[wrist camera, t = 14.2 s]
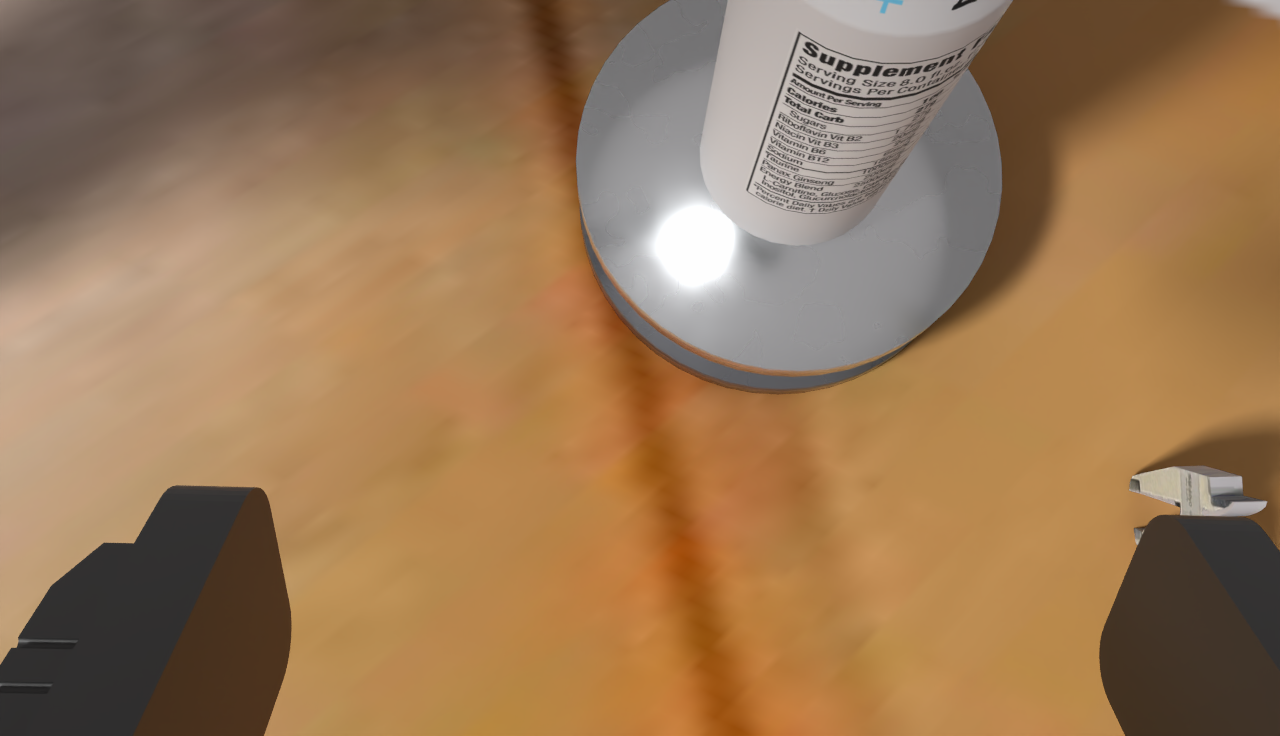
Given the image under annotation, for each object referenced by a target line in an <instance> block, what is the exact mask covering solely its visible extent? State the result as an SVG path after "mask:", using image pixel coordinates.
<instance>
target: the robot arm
mask: <svg viewBox="0 0 1280 736" xmlns="http://www.w3.org/2000/svg"><path fill="white" fill-rule="evenodd" d="M18 639H19V642H18V646H17V648H11V649H10V651H9V652H8V654H7V655H6V657H5V659H4V660H3V662H2V663H1V665H0V736H264V734H265V731H266V728H267V725H268V722H269V719H270V716H271V713H272V711H273V708H274V705H275V702H276V699H277V696H278V693H279V690H280V688H281V685H282V682H283V679H284V675H285V672H286V668H287V663H288V658H289V651H290V643H291V610H290V604H289V599H288V594H287V589H286V584H285V579H284V574H283V569H282V564H281V559H280V554H279V549H278V543H277V538H276V533H275V528H274V523H273V518H272V513H271V508H270V504H269V501H268V498H267V495H266V494H265V492H264V491H263V490H262V489H261V488H255V487H218V486H181V485H176V486H172V487H170V488H169V489H167V491H166V492H165V493H164V494H163V495H162V497H161V498H160V500H159V501H158V503H157V505H156V507H155V508H154V510H153V512H152V513H151V515H150V517H149V519H148V520H147V522H146V524H145V526H144V527H143V529H142V531H141V532H140V534H139V536H138V538H137V539H136V541H135V543H134V544H132V543H103V544H102V545H101V546H99V547H98V548H97V549H96V550H95V551H93V552H92V553H91V554H90V555H88V556H87V557H86V558H85V559H84V560H82V561H81V562H80V563H79V564H77V565H76V566H75V567H74V568H73V569H71V570H70V571H69V572H68V573H66V574H65V575H64V576H63V577H62V578H60V579H59V580H58V581H57V582H55V583H54V584H53V585H52V586H51V587H50V589H49V590H48V592H47V593H46V595H45V596H44V598H43V600H42V601H41V603H40V604H39V606H38V607H37V609H36V610H35V612H34V614H33V615H32V617H31V618H30V620H29V621H28V623H27V624H26V626H25V628H24V629H23V631H22V632H21V634H20V635H19V637H18ZM1099 659H1100V670H1101V677H1102V682H1103V686H1104V689H1105V692H1106V695H1107V698H1108V700H1109V702H1110V705H1111V707H1112V709H1113V711H1114V713H1115V715H1116V717H1117V719H1118V721H1119V723H1120V726H1121V728H1122V730H1123V732H1124V734H1125V736H1280V551H1279V550H1278V549H1277V547H1276V546H1275V545H1274V543H1273V542H1272V541H1271V539H1270V538H1269V537H1268V535H1267V534H1266V533H1265V532H1264V530H1263V529H1262V528H1261V527H1260V526H1259V525H1258V524H1257V523H1255V522H1254V521H1252V520H1250V519H1248V518H1245V517H1230V516H1193V515H1159V516H1157V517H1155V518H1153V519H1152V520H1151V521H1150V522H1149V523H1148V525H1147V526H1146V528H1145V530H1144V532H1143V534H1142V536H1141V538H1140V541H1139V543H1138V546H1137V548H1136V551H1135V553H1134V555H1133V558H1132V560H1131V563H1130V565H1129V568H1128V570H1127V572H1126V575H1125V577H1124V580H1123V582H1122V584H1121V587H1120V589H1119V592H1118V594H1117V597H1116V599H1115V601H1114V604H1113V606H1112V609H1111V611H1110V614H1109V616H1108V618H1107V621H1106V623H1105V626H1104V629H1103V632H1102V636H1101V641H1100V655H1099Z"/></svg>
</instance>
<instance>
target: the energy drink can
mask: <svg viewBox="0 0 1280 736" xmlns="http://www.w3.org/2000/svg"><path fill="white" fill-rule="evenodd" d="M1012 1H1013V0H728V2H727V7H726V12H725V18H724V23H723V28H722V33H721V38H720V44H719V49H718V54H717V59H716V64H715V70H714V75H713V80H712V85H711V91H710V96H709V101H708V106H707V111H706V117H705V122H704V127H703V132H702V138H701V144H700V166H701V170H702V174H703V178H704V182H705V184H706V186H707V188H708V190H709V192H710V194H711V197H712V199H713V200H714V201H715V203H716V204H717V205H718V207H719V208H720V209H721V211H722V212H723V213H724V214H725V215H726V216H727V217H728V218H729V219H730V220H732V221H733V222H734V223H735V224H736V225H737V226H739V227H740V228H742V229H744V230H745V231H747V232H749V233H750V234H752V235H754V236H756V237H759V238H762V239H764V240H767V241H769V242H773V243H779V244H785V245H812V244H817V243H822V242H827V241H829V240H832V239H834V238H836V237H839V236H841V235H843V234H845V233H847V232H848V231H850V230H851V229H852V228H854V227H855V226H857V225H858V224H859V223H860V222H861V221H862V220H863V219H864V218H865V217H866V216H867V215H868V214H869V213H870V212H871V211H872V209H873V208H874V206H875V205H876V203H877V202H878V200H879V199H880V197H881V196H882V194H883V193H884V191H885V190H886V189H887V187H888V186H889V184H890V183H891V181H892V180H893V178H894V177H895V175H896V174H897V172H898V171H899V169H900V168H901V166H902V165H903V163H904V162H905V160H906V159H907V157H908V156H909V154H910V153H911V151H912V150H913V148H914V147H915V145H916V144H917V142H918V141H919V139H920V138H921V136H922V135H923V133H924V132H925V130H926V129H927V128H928V126H929V125H930V123H931V122H932V120H933V119H934V117H935V116H936V114H937V113H938V111H939V110H940V108H941V107H942V105H943V104H944V102H945V101H946V99H947V98H948V96H949V95H950V93H951V92H952V90H953V89H954V87H955V86H956V84H957V83H958V81H959V80H960V78H961V77H962V75H963V74H964V72H965V71H966V70H967V68H968V67H969V65H970V64H971V62H972V61H973V59H974V58H975V56H976V55H977V53H978V52H979V50H980V49H981V47H982V46H983V44H984V43H985V41H986V40H987V38H988V37H989V35H990V34H991V32H992V31H993V29H994V28H995V26H996V25H997V23H998V22H999V20H1000V19H1001V17H1002V16H1003V14H1004V13H1005V12H1006V10H1007V9H1008V7H1009V6H1010V4H1011V3H1012Z"/></svg>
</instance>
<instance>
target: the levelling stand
mask: <svg viewBox="0 0 1280 736" xmlns="http://www.w3.org/2000/svg"><path fill="white" fill-rule="evenodd" d="M727 2H728V0H670V1H668V2H666V3H665V4H663V5H661V6H660V7H658V8H657V9H656V10H654V11H653V12H652V13H651V14H649V15H648V16H647V17H646V18H644V19H643V20H642V21H640V22H639V23H638V24H637V25H636V26H635V27H634V28H633V29H632V30H631V31H630V32H629V33H628V34H627V35H626V36H625V37H624V38H623V39H622V41H621V42H620V43H619V44H618V46H617V47H616V48H615V50H614V51H613V52H612V54H611V55H610V56H609V58H608V59H607V60H606V62H605V63H604V65H603V67H602V69H601V71H600V73H599V74H598V76H597V78H596V80H595V82H594V84H593V86H592V88H591V91H590V94H589V96H588V99H587V102H586V104H585V107H584V110H583V115H582V119H581V124H580V128H579V133H578V142H577V155H576V167H577V183H578V196H579V202H580V217H581V229H582V234H583V239H584V244H585V249H586V253H587V256H588V259H589V262H590V265H591V268H592V271H593V273H594V276H595V278H596V280H597V282H598V284H599V286H600V288H601V290H602V292H603V294H604V296H605V298H606V299H607V301H608V302H609V304H610V305H611V306H612V308H613V309H614V311H615V312H616V314H617V315H618V317H619V318H620V319H621V320H622V321H623V323H624V324H625V325H626V326H627V327H628V328H629V329H630V330H631V331H632V333H633V334H634V335H635V336H636V337H637V338H638V339H639V340H641V341H642V342H643V343H644V344H645V345H646V346H648V347H649V348H650V349H651V350H652V351H654V352H655V353H656V354H657V355H659V356H660V357H662V358H663V359H665V360H666V361H668V362H670V363H671V364H673V365H674V366H676V367H677V368H679V369H681V370H683V371H685V372H687V373H689V374H691V375H694V376H696V377H698V378H700V379H702V380H705V381H708V382H711V383H714V384H717V385H720V386H723V387H726V388H731V389H736V390H741V391H746V392H752V393H766V394H791V393H805V392H810V391H815V390H820V389H825V388H830V387H833V386H836V385H838V384H841V383H844V382H847V381H850V380H853V379H855V378H857V377H859V376H861V375H863V374H865V373H867V372H869V371H871V370H873V369H875V368H877V367H878V366H880V365H881V364H883V363H884V362H886V361H887V360H889V359H890V358H892V357H893V356H895V355H896V354H897V353H899V352H900V351H901V350H902V349H903V348H904V347H906V346H907V345H908V344H909V343H910V342H911V341H912V340H913V339H914V338H915V337H917V336H918V335H919V334H921V333H922V332H923V331H924V330H926V329H927V328H928V327H929V326H930V325H931V324H933V323H934V322H935V321H936V320H937V319H938V318H939V317H940V316H941V315H942V314H944V313H945V312H946V311H947V310H948V309H949V308H950V307H951V306H952V305H953V304H954V302H955V301H956V300H957V299H958V298H959V296H960V295H961V294H962V293H963V292H964V290H965V289H966V288H967V287H968V285H969V284H970V282H971V280H972V279H973V277H974V275H975V274H976V272H977V270H978V269H979V267H980V266H981V264H982V262H983V259H984V257H985V255H986V252H987V250H988V248H989V246H990V243H991V241H992V238H993V234H994V231H995V227H996V223H997V220H998V216H999V209H1000V201H1001V193H1002V161H1001V155H1000V148H999V142H998V136H997V133H996V129H995V126H994V123H993V119H992V116H991V112H990V110H989V108H988V105H987V103H986V101H985V99H984V96H983V94H982V92H981V90H980V88H979V86H978V84H977V83H976V81H975V79H974V78H973V76H972V74H971V73H970V71H969V70H968V68H967V70H966V71H965V72H964V74H963V75H962V77H961V78H960V80H959V81H958V83H957V84H956V86H955V87H954V89H953V90H952V92H951V93H950V95H949V96H948V98H947V99H946V101H945V102H944V104H943V105H942V107H941V108H940V110H939V111H938V113H937V114H936V116H935V117H934V119H933V120H932V122H931V123H930V125H929V126H928V128H927V129H926V130H925V132H924V133H923V135H922V136H921V138H920V139H919V141H918V142H917V144H916V145H915V147H914V148H913V150H912V151H911V153H910V154H909V156H908V157H907V159H906V160H905V162H904V163H903V165H902V166H901V168H900V169H899V171H898V172H897V174H896V175H895V177H894V178H893V180H892V181H891V183H890V184H889V186H888V187H887V189H886V190H885V191H884V193H883V194H882V196H881V197H880V199H879V200H878V202H877V203H876V205H875V206H874V208H873V209H872V211H871V212H870V213H869V214H868V215H867V216H866V217H865V218H864V219H863V220H862V221H861V222H860V223H859V224H858V225H857V226H855V227H854V228H852V229H851V230H850V231H848V232H847V233H845V234H843V235H841V236H839V237H836V238H834V239H832V240H829V241H827V242H822V243H817V244H812V245H785V244H779V243H773V242H769V241H767V240H764V239H762V238H759V237H756V236H754V235H752V234H750V233H749V232H747V231H745V230H744V229H742V228H740V227H739V226H737V225H736V224H735V223H734V222H733V221H732V220H730V219H729V218H728V217H727V216H726V215H725V214H724V213H723V212H722V211H721V209H720V208H719V207H718V205H717V204H716V203H715V201H714V200H713V199H712V197H711V194H710V192H709V190H708V188H707V186H706V184H705V182H704V178H703V174H702V170H701V166H700V144H701V138H702V132H703V127H704V122H705V117H706V111H707V106H708V101H709V96H710V91H711V85H712V80H713V75H714V70H715V64H716V59H717V54H718V49H719V44H720V38H721V33H722V28H723V23H724V18H725V12H726V7H727Z"/></svg>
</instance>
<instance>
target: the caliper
mask: <svg viewBox="0 0 1280 736" xmlns="http://www.w3.org/2000/svg"><path fill="white" fill-rule="evenodd" d="M1129 491H1132V492H1136V493H1140V494H1143V495H1146V496H1149V497H1152V498H1155V499H1158V500H1161V501H1164V502H1166V503H1169V504H1172V505H1175V506H1178V507H1180V515H1193V516H1230V517H1238V516H1249V515H1252V514H1255V513H1257V512H1260V511H1261V510H1262V509H1263V508H1265V507H1266V504H1267V501H1263V500H1259V499H1255V498H1251V497H1247V496H1243V485H1242V476H1239V475H1235V474H1232V473H1228V472H1225V471H1221V470H1218V469H1214V468H1210V467H1207V466H1175V467H1169V468H1165V469H1160V470H1155V471H1150V472H1145V473H1141V474H1138V475H1135V476H1132V479H1131V481H1130V489H1129ZM1144 530H1145V528H1134V533H1135V540H1136V544H1137V545H1138V543H1139V541H1140V538H1141V536H1142V534H1143V532H1144Z"/></svg>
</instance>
